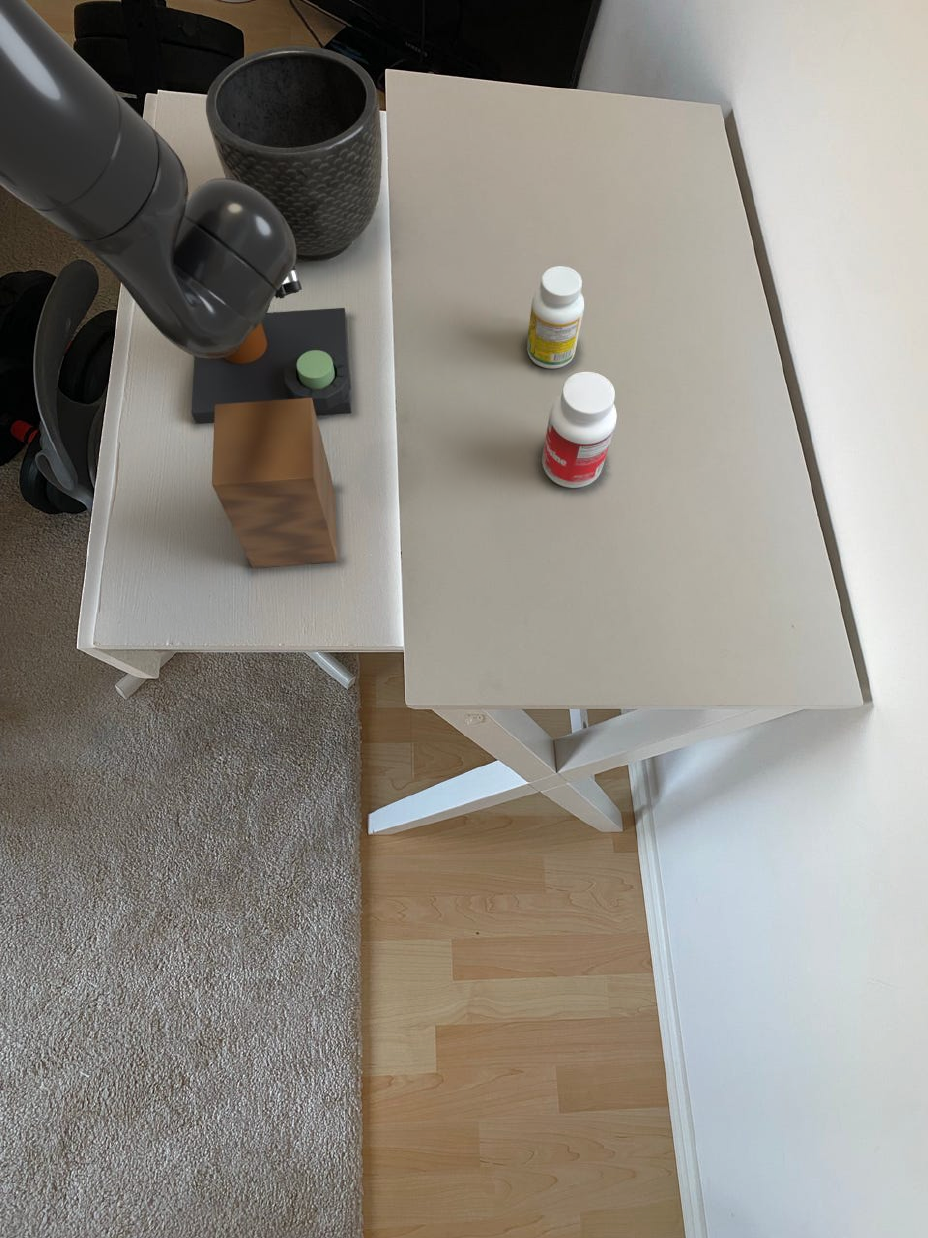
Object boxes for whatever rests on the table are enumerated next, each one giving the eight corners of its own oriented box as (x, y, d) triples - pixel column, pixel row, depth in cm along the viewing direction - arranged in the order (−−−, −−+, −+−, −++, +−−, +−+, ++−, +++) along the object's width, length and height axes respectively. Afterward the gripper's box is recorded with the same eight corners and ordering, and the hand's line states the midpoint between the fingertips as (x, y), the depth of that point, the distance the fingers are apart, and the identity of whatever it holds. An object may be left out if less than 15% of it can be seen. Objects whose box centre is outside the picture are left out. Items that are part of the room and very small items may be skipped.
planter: (363, 301, 89) (346, 169, 74) (220, 271, 90) (175, 135, 76) (407, 199, 95) (399, 60, 81) (274, 173, 97) (242, 31, 82)
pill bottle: (534, 446, 81) (545, 370, 71) (591, 434, 81) (610, 358, 71) (551, 495, 78) (566, 425, 68) (610, 483, 79) (633, 412, 69)
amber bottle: (218, 365, 82) (189, 290, 73) (220, 329, 84) (191, 251, 75) (267, 362, 83) (243, 286, 73) (267, 326, 85) (244, 248, 76)
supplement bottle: (562, 377, 84) (575, 308, 76) (517, 358, 85) (525, 288, 77) (583, 343, 86) (597, 272, 78) (539, 325, 87) (548, 253, 79)
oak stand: (252, 568, 75) (211, 485, 62) (253, 497, 78) (214, 403, 65) (337, 561, 75) (313, 477, 62) (334, 491, 78) (311, 397, 65)
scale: (195, 429, 81) (185, 407, 78) (200, 328, 87) (191, 303, 83) (353, 418, 82) (349, 396, 79) (348, 318, 87) (344, 294, 84)
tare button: (299, 390, 79) (296, 378, 78) (299, 363, 81) (296, 350, 79) (335, 388, 80) (333, 376, 78) (334, 360, 81) (332, 348, 79)
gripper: (293, 217, 64) (283, 242, 80) (117, 261, 62) (142, 278, 78) (322, 313, 67) (307, 319, 83) (154, 358, 65) (171, 355, 80)
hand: (227, 299), depth 80 cm, fingers closed on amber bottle, 5 cm apart
